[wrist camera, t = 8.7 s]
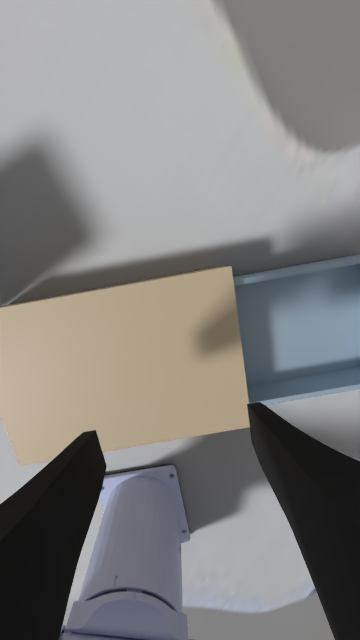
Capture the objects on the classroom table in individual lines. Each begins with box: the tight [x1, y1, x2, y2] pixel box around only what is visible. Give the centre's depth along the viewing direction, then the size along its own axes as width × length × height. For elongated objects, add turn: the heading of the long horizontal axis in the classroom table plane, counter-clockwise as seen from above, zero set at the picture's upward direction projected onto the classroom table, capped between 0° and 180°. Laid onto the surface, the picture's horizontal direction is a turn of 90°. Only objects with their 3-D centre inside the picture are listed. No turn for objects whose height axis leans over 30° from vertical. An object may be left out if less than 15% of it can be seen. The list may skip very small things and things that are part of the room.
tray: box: [233, 254, 360, 405], centre depth 19 cm, size 10×17×3 cm, turn 100°
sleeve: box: [0, 266, 250, 466], centre depth 19 cm, size 12×18×4 cm, turn 100°
